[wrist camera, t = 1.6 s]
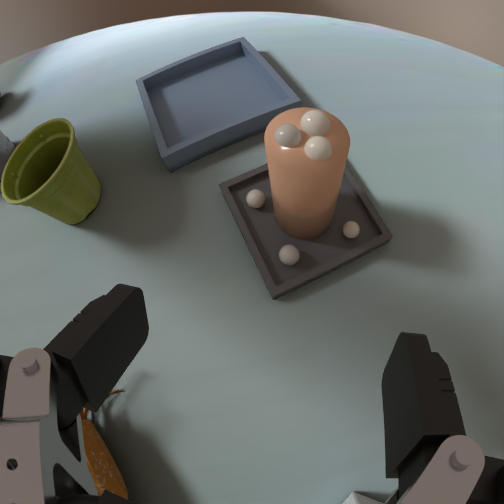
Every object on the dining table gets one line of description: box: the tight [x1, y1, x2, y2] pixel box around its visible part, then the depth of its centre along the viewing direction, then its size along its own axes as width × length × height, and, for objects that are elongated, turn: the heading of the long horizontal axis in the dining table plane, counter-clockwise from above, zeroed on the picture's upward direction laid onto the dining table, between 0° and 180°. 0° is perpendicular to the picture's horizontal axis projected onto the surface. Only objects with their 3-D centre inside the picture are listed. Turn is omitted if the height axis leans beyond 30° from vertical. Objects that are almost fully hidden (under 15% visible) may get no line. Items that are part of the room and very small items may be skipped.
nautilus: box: [79, 390, 129, 500], centre depth 19 cm, size 8×22×15 cm
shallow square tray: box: [136, 37, 301, 172], centre depth 32 cm, size 15×15×2 cm
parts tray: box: [219, 163, 392, 299], centre depth 26 cm, size 11×11×2 cm
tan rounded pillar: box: [264, 107, 350, 240], centre depth 22 cm, size 5×5×11 cm
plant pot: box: [1, 118, 101, 224], centre depth 27 cm, size 9×9×9 cm
